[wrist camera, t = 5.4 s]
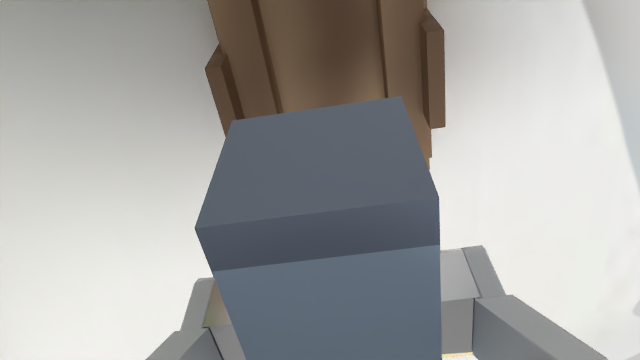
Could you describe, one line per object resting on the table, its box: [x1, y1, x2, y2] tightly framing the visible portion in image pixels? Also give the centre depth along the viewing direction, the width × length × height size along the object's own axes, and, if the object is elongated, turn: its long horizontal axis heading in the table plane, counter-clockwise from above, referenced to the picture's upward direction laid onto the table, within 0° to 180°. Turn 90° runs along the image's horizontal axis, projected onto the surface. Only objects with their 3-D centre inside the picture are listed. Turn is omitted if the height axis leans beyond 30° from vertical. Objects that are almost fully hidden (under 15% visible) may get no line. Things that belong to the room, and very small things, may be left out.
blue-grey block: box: [195, 96, 442, 360], centre depth 11 cm, size 4×8×4 cm, turn 9°
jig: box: [205, 0, 445, 170], centre depth 22 cm, size 10×12×4 cm
